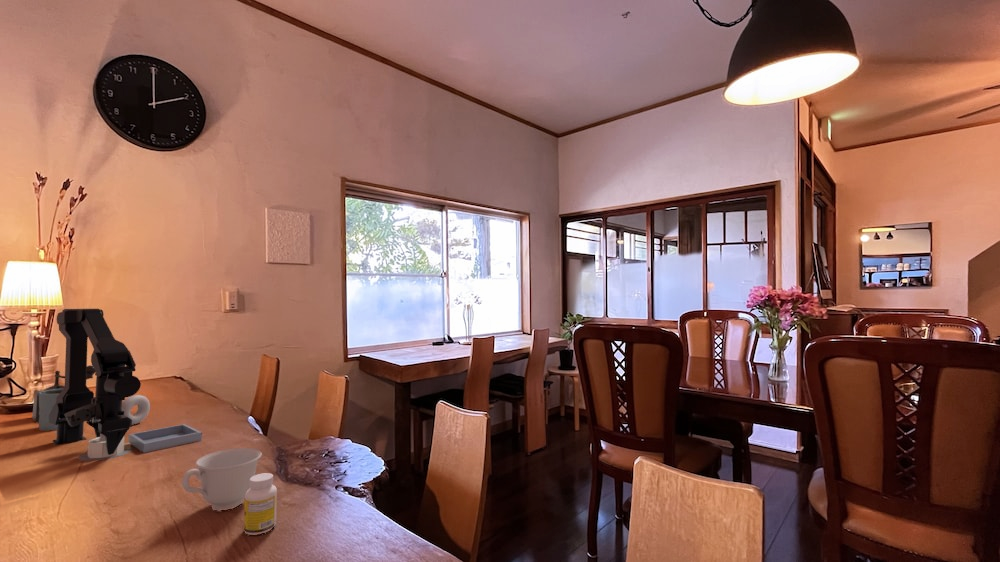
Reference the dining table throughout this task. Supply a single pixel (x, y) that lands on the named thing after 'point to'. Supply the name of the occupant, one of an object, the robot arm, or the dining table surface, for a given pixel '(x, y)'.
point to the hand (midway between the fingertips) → (106, 450)
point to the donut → (142, 408)
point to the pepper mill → (36, 395)
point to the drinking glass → (47, 408)
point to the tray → (164, 437)
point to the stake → (86, 458)
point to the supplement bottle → (260, 504)
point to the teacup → (224, 476)
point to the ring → (104, 448)
